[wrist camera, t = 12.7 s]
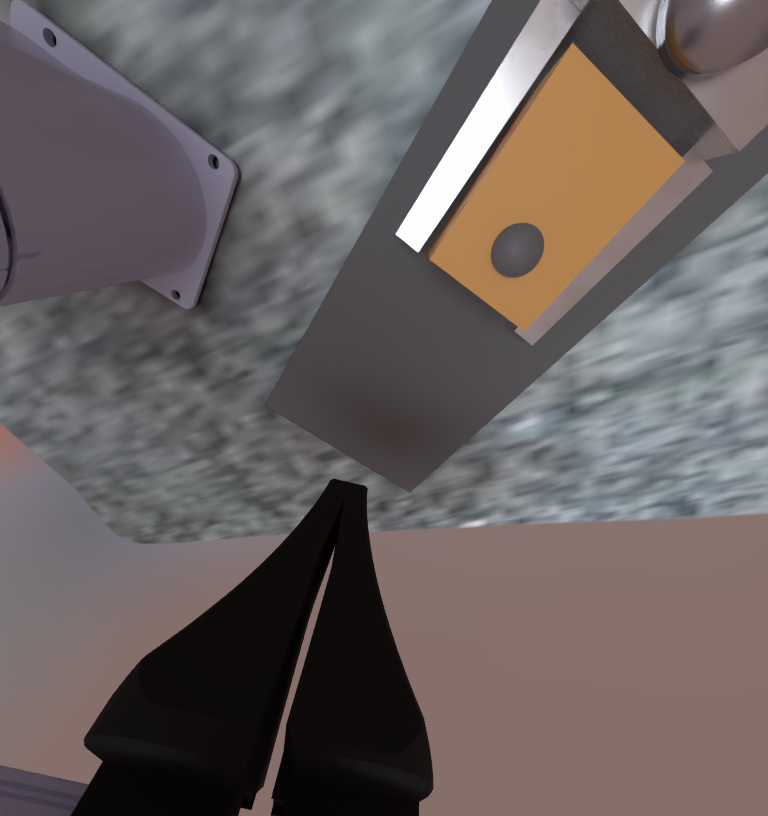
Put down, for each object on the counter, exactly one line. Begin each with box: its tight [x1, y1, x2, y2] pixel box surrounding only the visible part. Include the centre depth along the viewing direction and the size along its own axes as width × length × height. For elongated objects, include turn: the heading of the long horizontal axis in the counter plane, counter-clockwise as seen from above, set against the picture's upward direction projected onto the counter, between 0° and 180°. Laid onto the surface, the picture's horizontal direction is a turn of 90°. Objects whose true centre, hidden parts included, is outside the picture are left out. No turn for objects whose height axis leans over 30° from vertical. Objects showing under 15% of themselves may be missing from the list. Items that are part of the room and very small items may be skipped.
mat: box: [265, 0, 768, 492], centre depth 15 cm, size 12×27×1 cm, turn 145°
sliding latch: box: [396, 0, 768, 346], centre depth 11 cm, size 8×11×4 cm
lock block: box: [428, 43, 685, 332], centre depth 11 cm, size 4×6×5 cm
